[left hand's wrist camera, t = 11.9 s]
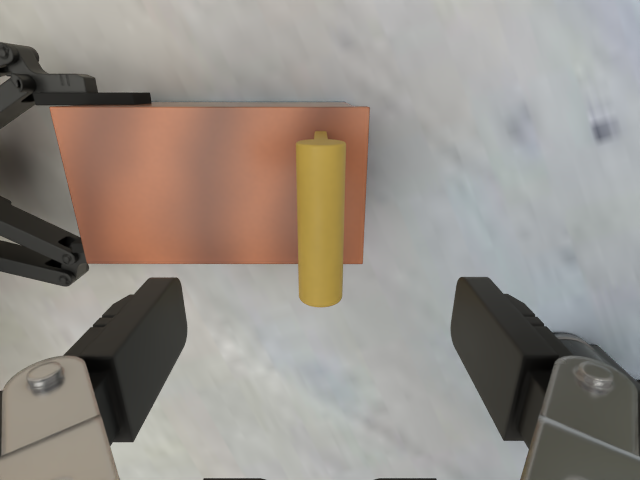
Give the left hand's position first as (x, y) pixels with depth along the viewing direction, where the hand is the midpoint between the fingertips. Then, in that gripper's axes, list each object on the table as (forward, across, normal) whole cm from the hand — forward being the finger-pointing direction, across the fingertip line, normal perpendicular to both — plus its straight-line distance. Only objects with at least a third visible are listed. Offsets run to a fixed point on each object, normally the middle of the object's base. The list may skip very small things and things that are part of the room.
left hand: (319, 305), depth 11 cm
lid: (+15, -6, 0) cm, 16 cm away
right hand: (+18, -12, 0) cm, 22 cm away
